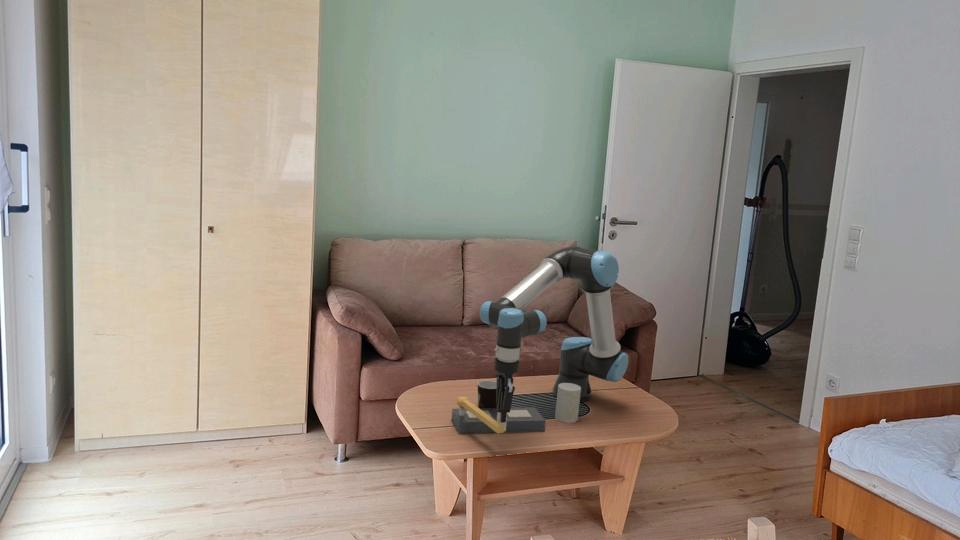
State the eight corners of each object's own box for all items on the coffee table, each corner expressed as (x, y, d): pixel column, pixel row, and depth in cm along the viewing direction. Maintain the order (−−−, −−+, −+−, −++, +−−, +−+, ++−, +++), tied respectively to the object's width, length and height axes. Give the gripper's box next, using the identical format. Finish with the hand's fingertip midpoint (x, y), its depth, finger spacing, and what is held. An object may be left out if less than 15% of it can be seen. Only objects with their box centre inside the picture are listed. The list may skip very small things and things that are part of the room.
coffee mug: (496, 416, 259) (499, 390, 257) (473, 413, 260) (475, 386, 258) (502, 405, 270) (504, 380, 268) (479, 402, 271) (481, 376, 270)
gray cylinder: (563, 424, 257) (566, 391, 255) (550, 415, 264) (553, 383, 262) (582, 421, 261) (585, 389, 259) (569, 413, 268) (572, 382, 266)
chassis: (533, 417, 260) (535, 398, 259) (544, 431, 249) (546, 410, 248) (451, 419, 253) (453, 399, 252) (458, 433, 241) (460, 412, 240)
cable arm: (455, 403, 247) (455, 396, 246) (464, 401, 249) (465, 395, 248) (495, 434, 224) (496, 427, 223) (505, 432, 225) (506, 426, 225)
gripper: (490, 352, 230) (484, 422, 235) (501, 365, 218) (494, 439, 222) (512, 352, 232) (506, 422, 237) (525, 365, 220) (518, 438, 224)
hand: (501, 430), depth 230 cm, fingers closed
